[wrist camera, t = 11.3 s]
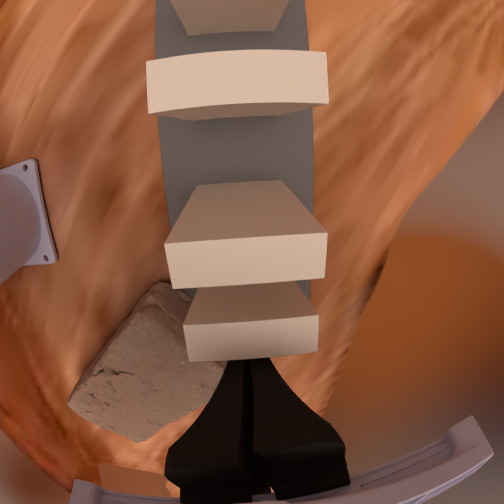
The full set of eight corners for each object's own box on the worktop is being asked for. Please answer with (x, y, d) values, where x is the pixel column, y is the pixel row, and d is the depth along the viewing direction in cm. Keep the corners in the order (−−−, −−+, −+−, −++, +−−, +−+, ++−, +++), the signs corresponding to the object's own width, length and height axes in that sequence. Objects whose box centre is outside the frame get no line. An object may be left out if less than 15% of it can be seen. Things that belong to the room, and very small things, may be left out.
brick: (157, 272, 19) (138, 315, 15) (247, 336, 22) (250, 383, 17) (79, 373, 24) (63, 407, 19) (145, 412, 26) (137, 447, 22)
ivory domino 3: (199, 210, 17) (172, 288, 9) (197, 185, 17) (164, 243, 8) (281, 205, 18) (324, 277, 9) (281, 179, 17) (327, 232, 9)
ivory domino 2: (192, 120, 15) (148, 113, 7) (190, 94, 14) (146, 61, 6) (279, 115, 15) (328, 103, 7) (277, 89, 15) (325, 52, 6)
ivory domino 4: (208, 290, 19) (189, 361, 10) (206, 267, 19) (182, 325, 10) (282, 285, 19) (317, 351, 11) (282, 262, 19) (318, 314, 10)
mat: (186, 312, 21) (186, 315, 20) (161, -58, 9) (160, -60, 9) (307, 304, 21) (308, 306, 21) (293, -64, 9) (294, -66, 9)
